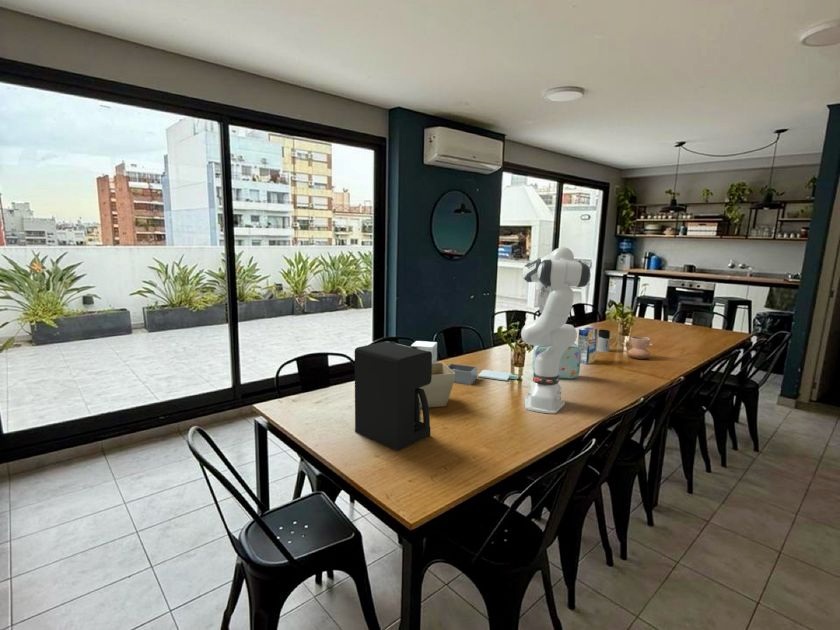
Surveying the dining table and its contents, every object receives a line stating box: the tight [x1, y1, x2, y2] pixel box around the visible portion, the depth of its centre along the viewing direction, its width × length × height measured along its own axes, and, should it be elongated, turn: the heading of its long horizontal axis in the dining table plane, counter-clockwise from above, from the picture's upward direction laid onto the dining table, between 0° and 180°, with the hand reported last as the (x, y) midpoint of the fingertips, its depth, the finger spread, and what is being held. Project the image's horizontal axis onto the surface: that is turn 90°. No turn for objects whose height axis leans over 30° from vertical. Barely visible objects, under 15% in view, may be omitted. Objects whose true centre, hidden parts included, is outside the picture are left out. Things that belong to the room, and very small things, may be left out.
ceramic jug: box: [625, 335, 653, 360], centre depth 303 cm, size 18×14×14 cm
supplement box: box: [410, 340, 438, 363], centre depth 259 cm, size 13×13×18 cm
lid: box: [477, 369, 519, 382], centre depth 254 cm, size 13×22×2 cm, turn 66°
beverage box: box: [577, 326, 598, 365], centre depth 288 cm, size 7×11×22 cm, turn 131°
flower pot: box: [418, 362, 455, 409], centre depth 210 cm, size 19×19×17 cm
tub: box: [446, 363, 478, 386], centre depth 247 cm, size 12×16×7 cm
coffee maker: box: [353, 340, 432, 452], centre depth 172 cm, size 28×20×35 cm
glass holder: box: [595, 329, 618, 353], centre depth 319 cm, size 9×14×15 cm, turn 40°
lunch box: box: [532, 342, 581, 380], centre depth 255 cm, size 27×10×21 cm, turn 84°
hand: (542, 311), depth 243 cm, fingers open, 8 cm apart
